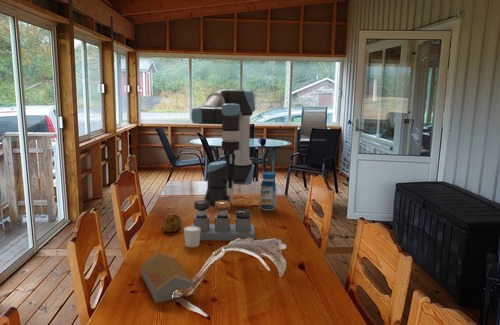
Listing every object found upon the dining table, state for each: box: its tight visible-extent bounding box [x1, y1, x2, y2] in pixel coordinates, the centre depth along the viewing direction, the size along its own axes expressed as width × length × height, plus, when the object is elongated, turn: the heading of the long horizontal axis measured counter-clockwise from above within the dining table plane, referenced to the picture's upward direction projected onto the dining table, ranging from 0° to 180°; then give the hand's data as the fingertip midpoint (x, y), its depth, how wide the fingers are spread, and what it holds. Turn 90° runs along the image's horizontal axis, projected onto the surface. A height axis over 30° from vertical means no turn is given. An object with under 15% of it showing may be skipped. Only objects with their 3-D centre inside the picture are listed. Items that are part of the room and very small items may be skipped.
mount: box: [190, 213, 256, 241], centre depth 170 cm, size 12×28×8 cm, turn 93°
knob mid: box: [214, 200, 231, 218], centre depth 169 cm, size 6×6×7 cm
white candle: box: [183, 225, 201, 248], centre depth 159 cm, size 7×7×7 cm
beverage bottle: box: [259, 171, 277, 211], centre depth 212 cm, size 8×8×20 cm
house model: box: [140, 251, 196, 304], centre depth 125 cm, size 20×12×8 cm, turn 27°
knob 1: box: [193, 199, 210, 218], centre depth 168 cm, size 6×6×7 cm
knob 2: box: [235, 208, 252, 219], centre depth 170 cm, size 6×6×7 cm
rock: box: [162, 213, 182, 233], centre depth 177 cm, size 11×8×10 cm
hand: (229, 194), depth 168 cm, fingers closed
